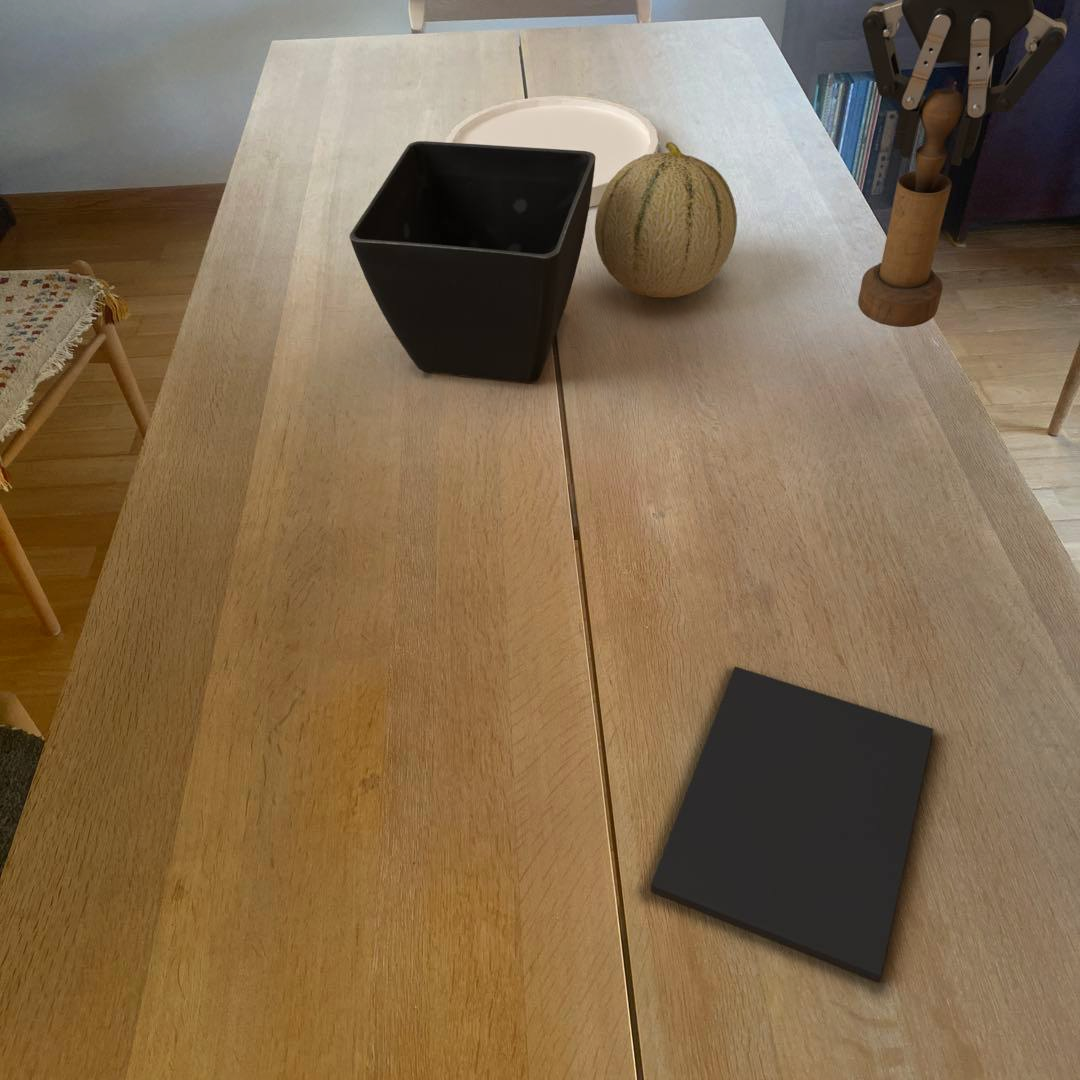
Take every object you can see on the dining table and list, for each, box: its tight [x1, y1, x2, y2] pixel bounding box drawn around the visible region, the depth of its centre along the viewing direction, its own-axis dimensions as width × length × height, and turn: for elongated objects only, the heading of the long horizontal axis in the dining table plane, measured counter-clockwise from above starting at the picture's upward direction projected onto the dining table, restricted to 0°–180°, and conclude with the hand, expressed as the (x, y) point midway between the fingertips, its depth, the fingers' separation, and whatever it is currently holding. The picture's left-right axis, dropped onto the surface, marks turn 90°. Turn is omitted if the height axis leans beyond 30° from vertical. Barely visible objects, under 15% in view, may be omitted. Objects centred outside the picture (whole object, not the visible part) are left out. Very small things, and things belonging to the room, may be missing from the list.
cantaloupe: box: [594, 141, 738, 298], centre depth 104 cm, size 15×15×15 cm
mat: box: [650, 666, 934, 983], centre depth 65 cm, size 14×18×1 cm
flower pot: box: [348, 140, 595, 384], centre depth 97 cm, size 19×19×17 cm
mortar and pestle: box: [857, 87, 966, 328], centre depth 78 cm, size 7×6×18 cm
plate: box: [444, 95, 659, 208], centre depth 131 cm, size 28×28×2 cm
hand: (932, 156), depth 75 cm, fingers closed on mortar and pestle, 3 cm apart
